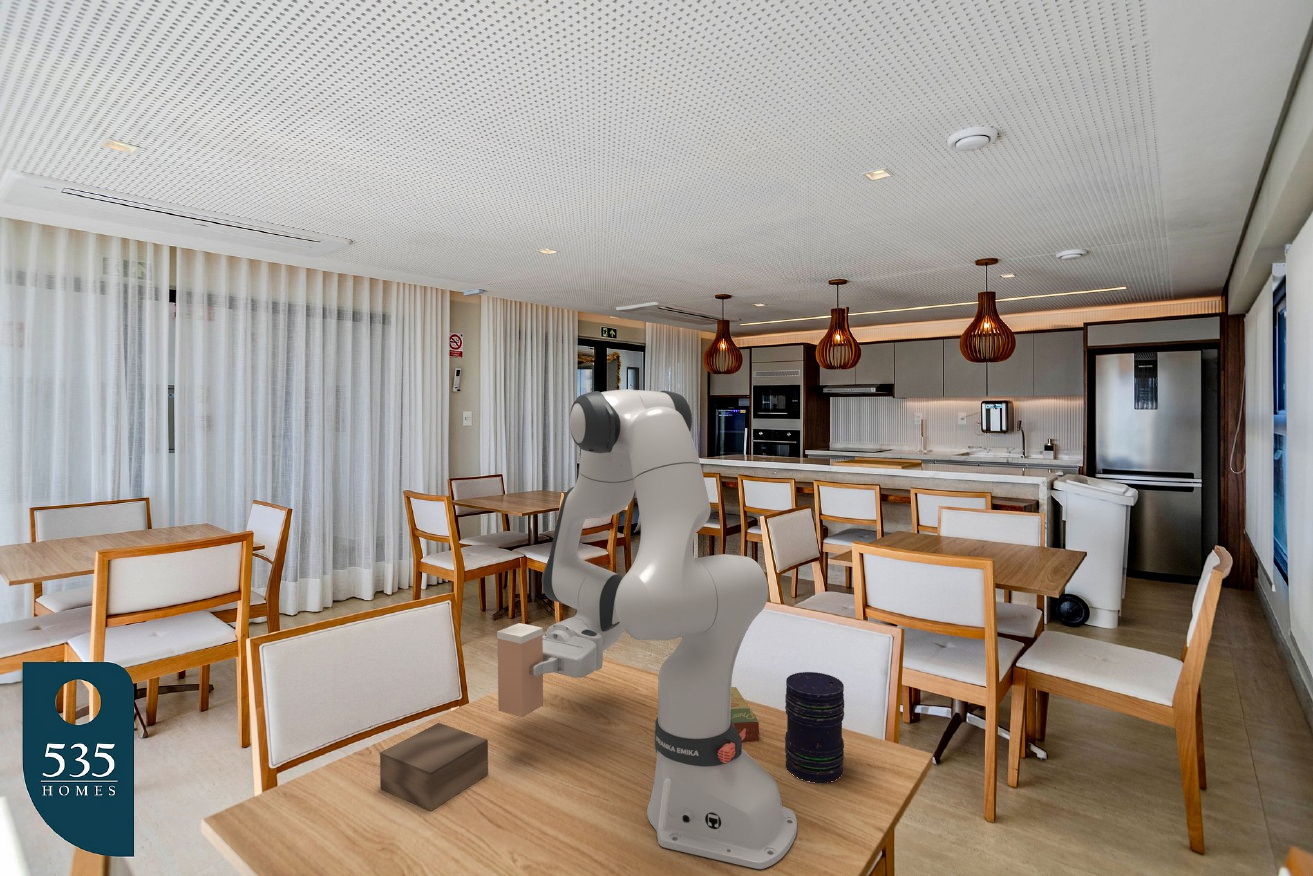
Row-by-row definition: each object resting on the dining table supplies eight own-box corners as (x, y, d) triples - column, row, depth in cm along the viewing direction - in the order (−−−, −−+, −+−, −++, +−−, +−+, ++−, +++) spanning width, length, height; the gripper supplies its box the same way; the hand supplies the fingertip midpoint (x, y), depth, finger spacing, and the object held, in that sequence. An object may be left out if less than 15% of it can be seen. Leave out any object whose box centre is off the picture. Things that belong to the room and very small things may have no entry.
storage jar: (791, 784, 107) (792, 695, 107) (779, 754, 117) (780, 671, 117) (851, 784, 108) (852, 694, 107) (834, 753, 117) (835, 671, 117)
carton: (736, 705, 138) (737, 685, 138) (760, 742, 122) (760, 720, 122) (698, 707, 137) (698, 687, 137) (716, 745, 121) (717, 723, 121)
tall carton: (543, 705, 116) (542, 627, 116) (522, 717, 112) (521, 636, 111) (519, 698, 119) (519, 623, 119) (498, 710, 115) (497, 631, 114)
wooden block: (488, 774, 110) (487, 739, 110) (431, 811, 100) (430, 772, 100) (438, 756, 116) (438, 722, 116) (380, 788, 106) (380, 752, 106)
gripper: (525, 620, 132) (474, 640, 120) (609, 636, 121) (562, 660, 109) (525, 651, 132) (474, 674, 120) (609, 670, 121) (562, 697, 110)
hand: (517, 667), depth 115 cm, fingers closed on tall carton, 5 cm apart
